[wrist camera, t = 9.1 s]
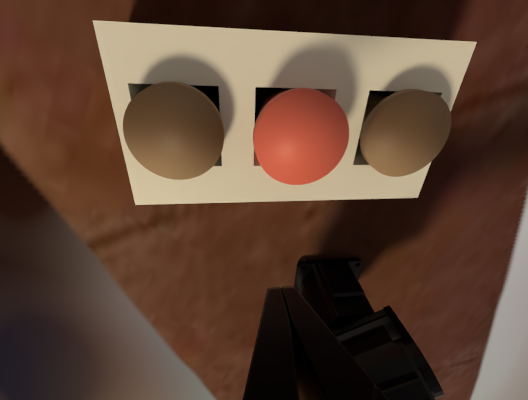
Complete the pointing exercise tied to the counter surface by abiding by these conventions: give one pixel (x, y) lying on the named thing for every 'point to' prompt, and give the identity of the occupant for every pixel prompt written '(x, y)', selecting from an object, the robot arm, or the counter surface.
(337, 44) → the jig
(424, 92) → the walnut plunger far
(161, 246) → the counter surface
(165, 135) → the walnut plunger near
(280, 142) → the red plunger
